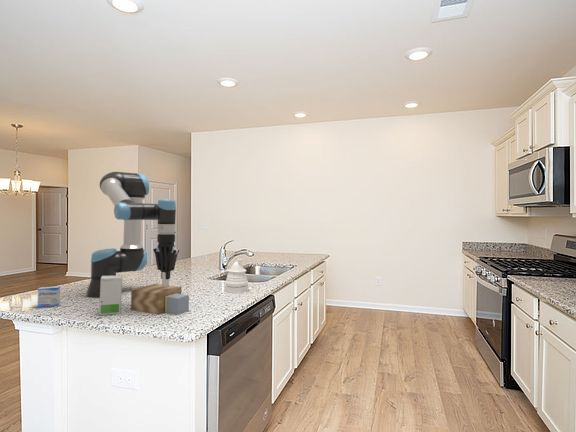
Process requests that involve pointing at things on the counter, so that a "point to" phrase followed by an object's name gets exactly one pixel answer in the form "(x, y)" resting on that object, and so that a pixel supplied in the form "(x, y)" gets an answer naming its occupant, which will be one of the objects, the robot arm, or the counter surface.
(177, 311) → the slate-blue block
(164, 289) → the oak plinth
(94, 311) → the counter surface
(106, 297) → the skincare box
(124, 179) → the robot arm
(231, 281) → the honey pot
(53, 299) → the medicine box
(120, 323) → the counter surface
